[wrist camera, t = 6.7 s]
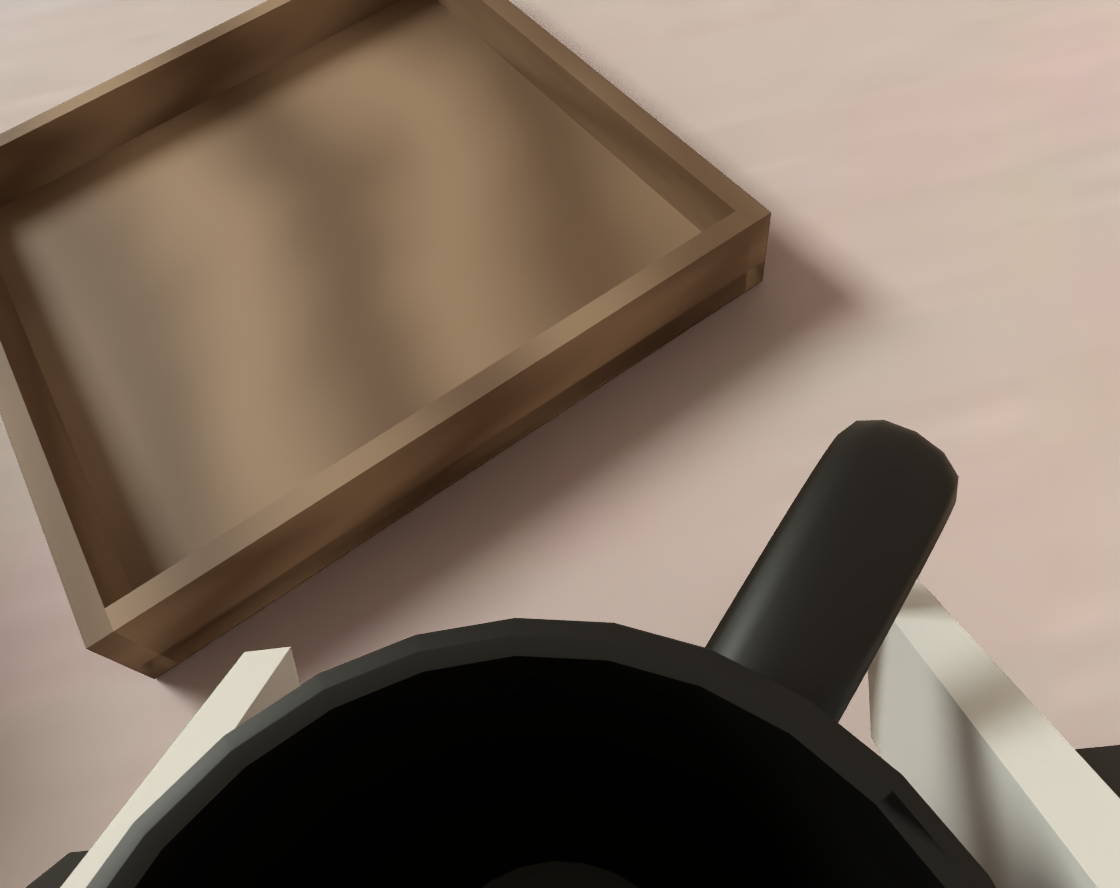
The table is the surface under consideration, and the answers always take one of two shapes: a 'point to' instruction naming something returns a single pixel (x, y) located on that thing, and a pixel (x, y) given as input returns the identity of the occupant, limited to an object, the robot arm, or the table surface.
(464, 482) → the table surface
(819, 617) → the mug
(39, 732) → the table surface
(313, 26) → the walnut tray
